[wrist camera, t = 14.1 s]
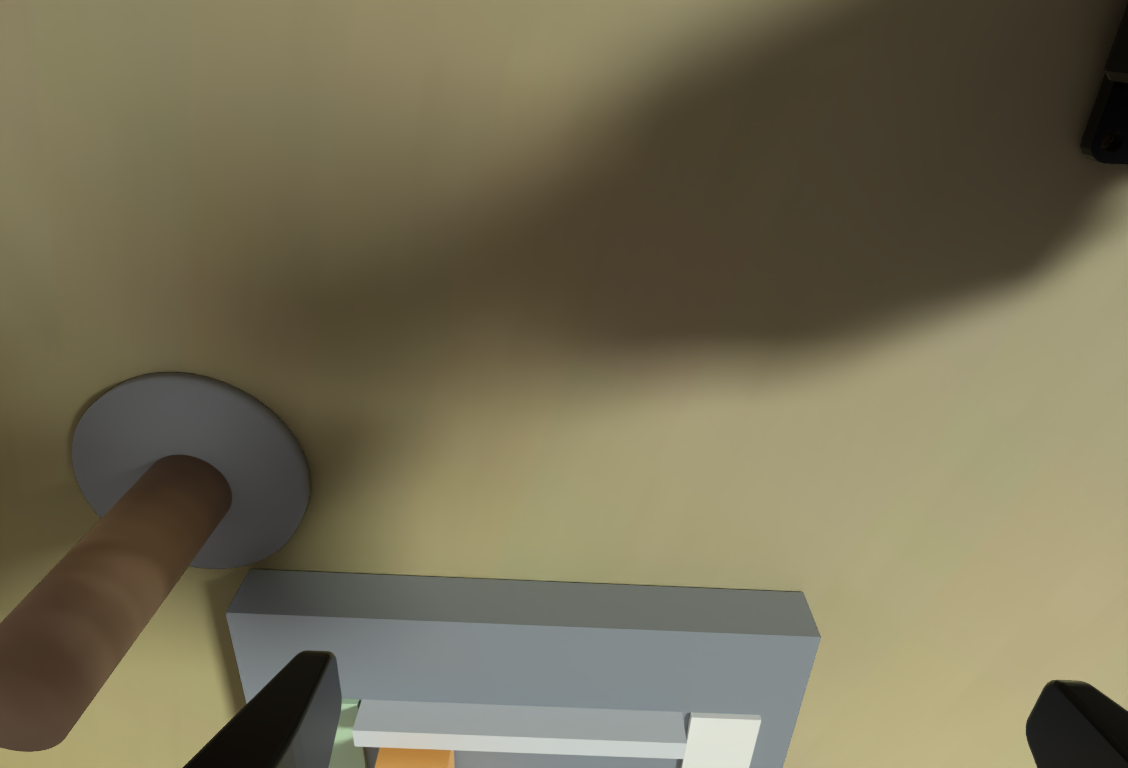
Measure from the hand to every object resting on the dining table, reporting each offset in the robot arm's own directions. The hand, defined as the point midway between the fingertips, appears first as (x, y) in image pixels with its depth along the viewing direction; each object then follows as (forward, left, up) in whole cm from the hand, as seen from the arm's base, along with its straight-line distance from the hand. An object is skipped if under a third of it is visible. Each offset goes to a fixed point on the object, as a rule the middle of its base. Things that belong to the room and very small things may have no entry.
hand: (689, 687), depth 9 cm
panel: (+2, +16, -12) cm, 21 cm away
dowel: (+13, +6, -12) cm, 19 cm away
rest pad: (+13, +6, -12) cm, 19 cm away
